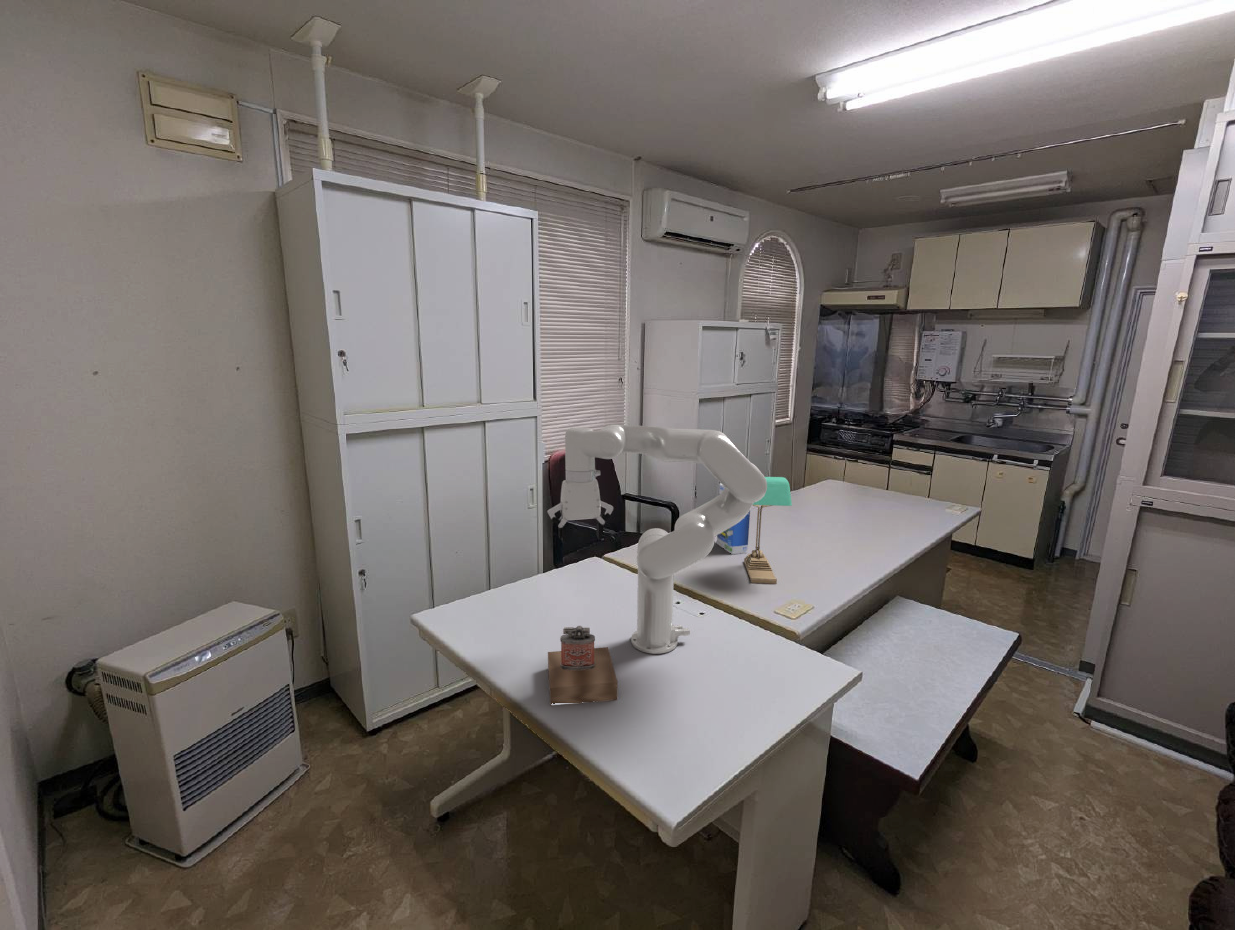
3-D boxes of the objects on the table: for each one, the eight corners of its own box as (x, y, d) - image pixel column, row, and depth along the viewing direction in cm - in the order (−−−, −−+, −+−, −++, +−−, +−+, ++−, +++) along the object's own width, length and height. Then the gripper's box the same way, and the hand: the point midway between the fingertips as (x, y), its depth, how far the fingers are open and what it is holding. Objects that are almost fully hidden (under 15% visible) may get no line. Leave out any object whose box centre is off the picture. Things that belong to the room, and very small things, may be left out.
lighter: (594, 661, 130) (594, 623, 127) (594, 670, 126) (595, 630, 124) (561, 662, 129) (560, 623, 127) (560, 670, 126) (559, 631, 124)
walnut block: (607, 665, 137) (607, 647, 136) (617, 701, 123) (617, 681, 122) (548, 670, 135) (547, 652, 134) (550, 708, 120) (550, 688, 119)
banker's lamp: (776, 563, 204) (782, 472, 197) (788, 586, 183) (795, 485, 176) (734, 561, 205) (738, 471, 198) (741, 584, 185) (746, 484, 178)
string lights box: (716, 543, 224) (718, 483, 219) (732, 542, 227) (735, 482, 222) (731, 554, 212) (734, 490, 207) (749, 552, 214) (752, 489, 209)
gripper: (609, 471, 145) (609, 532, 149) (544, 474, 141) (546, 537, 144) (616, 477, 138) (616, 541, 141) (548, 480, 134) (550, 546, 137)
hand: (581, 539), depth 143 cm, fingers open, 9 cm apart
